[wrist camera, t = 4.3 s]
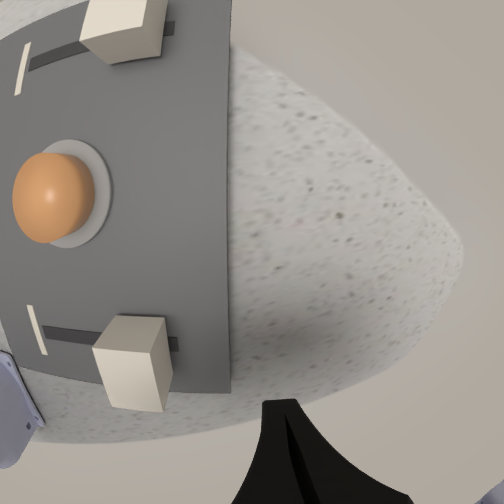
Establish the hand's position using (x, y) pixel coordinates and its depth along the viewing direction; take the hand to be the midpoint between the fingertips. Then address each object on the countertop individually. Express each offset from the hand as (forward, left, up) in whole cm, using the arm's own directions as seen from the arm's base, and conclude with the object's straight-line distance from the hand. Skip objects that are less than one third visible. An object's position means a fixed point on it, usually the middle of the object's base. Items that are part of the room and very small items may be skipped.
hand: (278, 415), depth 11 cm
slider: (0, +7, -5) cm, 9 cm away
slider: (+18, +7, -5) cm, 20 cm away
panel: (+9, +11, -7) cm, 16 cm away
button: (+9, +11, -5) cm, 15 cm away
